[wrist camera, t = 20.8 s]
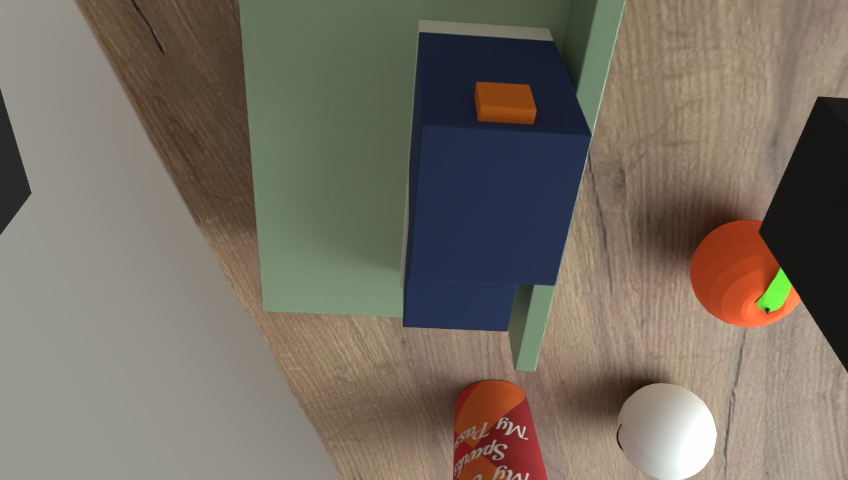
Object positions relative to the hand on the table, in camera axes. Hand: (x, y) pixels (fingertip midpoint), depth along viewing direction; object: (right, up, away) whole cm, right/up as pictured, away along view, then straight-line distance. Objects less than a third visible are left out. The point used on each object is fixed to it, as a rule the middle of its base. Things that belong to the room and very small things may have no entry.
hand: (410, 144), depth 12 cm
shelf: (-1, +7, +31) cm, 32 cm away
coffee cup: (+6, -15, +48) cm, 50 cm away
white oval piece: (+19, -15, +48) cm, 54 cm away
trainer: (+2, +2, +26) cm, 26 cm away
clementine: (+21, -1, +38) cm, 43 cm away
